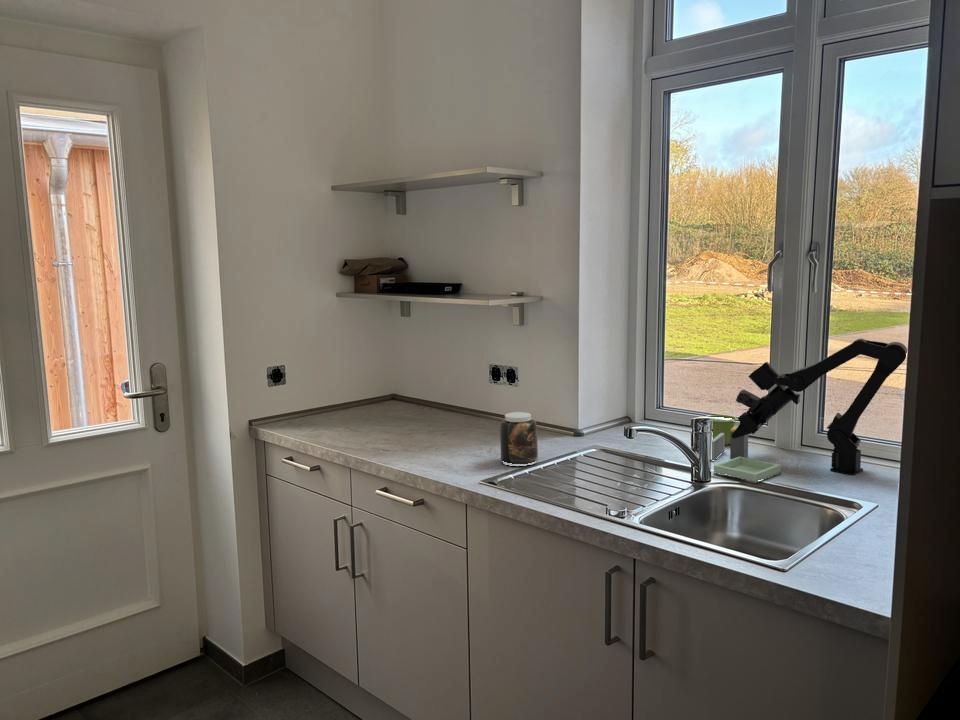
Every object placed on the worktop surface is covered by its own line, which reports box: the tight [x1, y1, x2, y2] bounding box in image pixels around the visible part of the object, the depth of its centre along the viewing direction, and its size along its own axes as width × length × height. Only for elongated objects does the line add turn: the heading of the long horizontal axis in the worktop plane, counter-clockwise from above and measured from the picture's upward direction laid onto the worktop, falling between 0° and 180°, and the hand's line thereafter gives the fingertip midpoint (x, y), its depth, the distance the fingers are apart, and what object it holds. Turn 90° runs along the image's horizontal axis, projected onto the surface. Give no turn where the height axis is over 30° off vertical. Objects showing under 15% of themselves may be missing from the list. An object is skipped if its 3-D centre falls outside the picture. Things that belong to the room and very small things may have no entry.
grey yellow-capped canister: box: [729, 425, 749, 460], centre depth 225 cm, size 4×5×10 cm
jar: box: [499, 411, 539, 464], centre depth 230 cm, size 12×12×15 cm
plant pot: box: [707, 414, 738, 446], centre depth 243 cm, size 9×9×9 cm
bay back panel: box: [712, 433, 726, 461], centre depth 228 cm, size 1×12×6 cm, turn 147°
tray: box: [713, 456, 782, 484], centre depth 210 cm, size 13×13×2 cm
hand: (734, 435), depth 225 cm, fingers closed on grey yellow-capped canister, 5 cm apart
